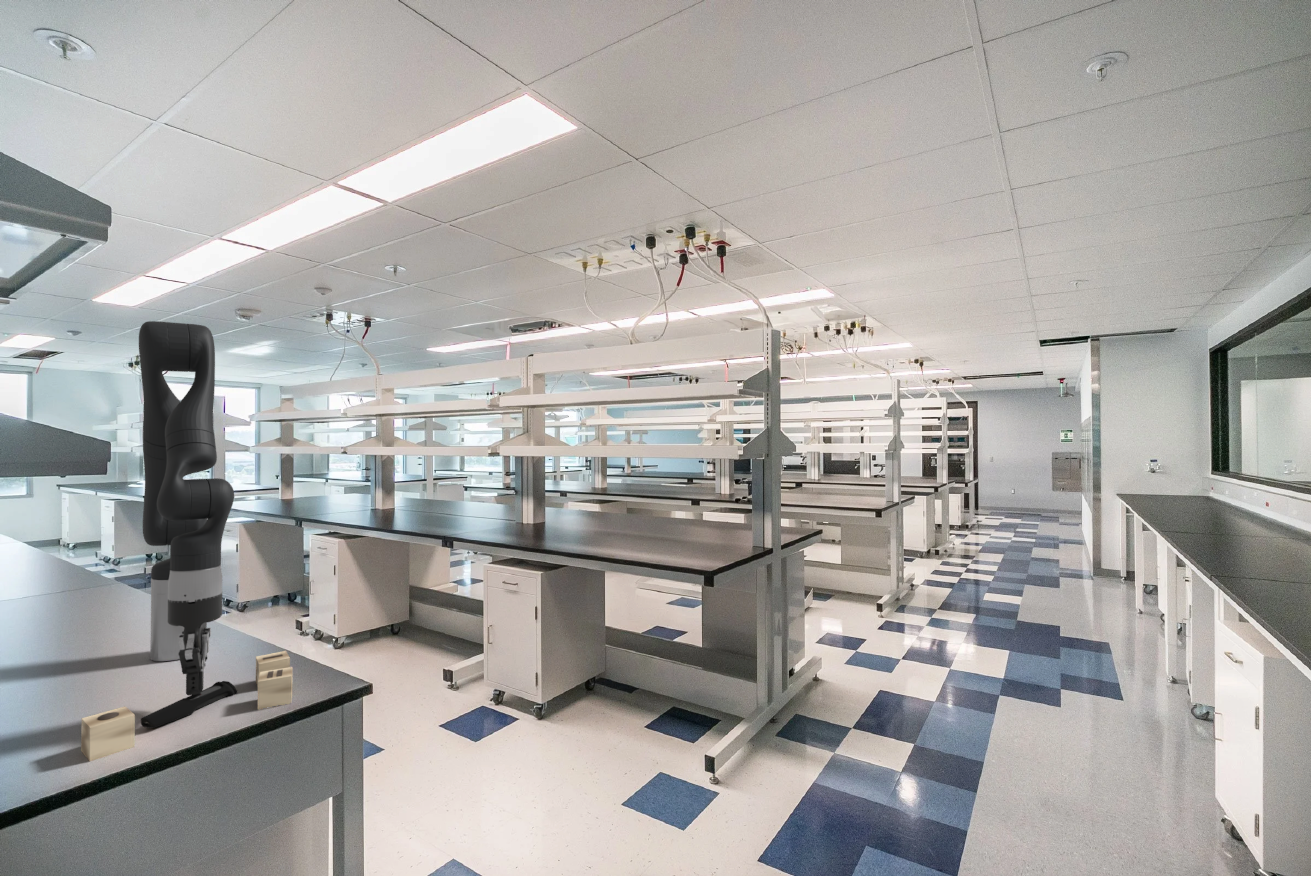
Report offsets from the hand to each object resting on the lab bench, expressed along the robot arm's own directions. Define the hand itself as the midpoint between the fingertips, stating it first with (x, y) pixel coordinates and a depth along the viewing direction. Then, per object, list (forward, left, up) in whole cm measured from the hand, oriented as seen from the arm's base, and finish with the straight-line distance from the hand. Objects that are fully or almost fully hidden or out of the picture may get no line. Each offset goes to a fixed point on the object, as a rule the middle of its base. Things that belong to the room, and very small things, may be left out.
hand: (194, 692), depth 102 cm
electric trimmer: (0, 0, -3) cm, 3 cm away
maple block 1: (+10, -9, -3) cm, 14 cm away
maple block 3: (+3, +12, -3) cm, 13 cm away
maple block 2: (-7, +11, -3) cm, 13 cm away
